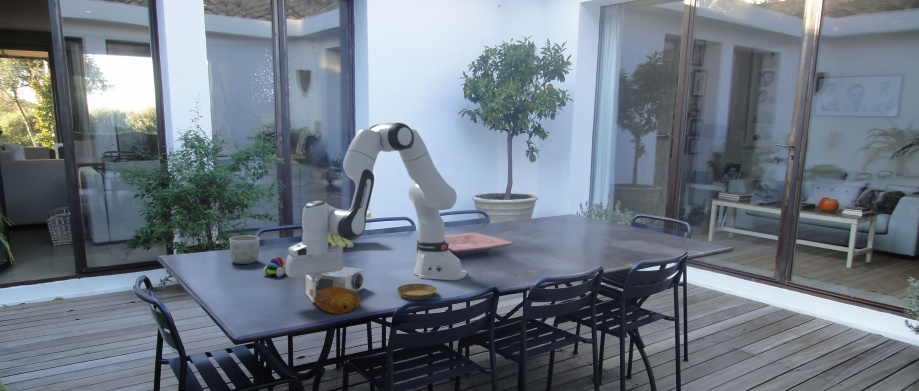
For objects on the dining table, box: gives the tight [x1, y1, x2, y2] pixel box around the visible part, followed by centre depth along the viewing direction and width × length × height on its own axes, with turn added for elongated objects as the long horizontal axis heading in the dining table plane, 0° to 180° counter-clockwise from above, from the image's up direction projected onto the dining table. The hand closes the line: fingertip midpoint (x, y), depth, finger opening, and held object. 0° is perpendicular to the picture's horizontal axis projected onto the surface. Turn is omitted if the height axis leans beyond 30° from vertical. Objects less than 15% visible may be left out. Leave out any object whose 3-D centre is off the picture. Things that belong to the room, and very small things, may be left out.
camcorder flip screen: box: [303, 275, 317, 303], centre depth 196 cm, size 13×2×7 cm, turn 28°
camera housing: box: [309, 266, 365, 295], centre depth 206 cm, size 17×14×8 cm
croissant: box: [314, 286, 362, 314], centre depth 188 cm, size 14×16×8 cm
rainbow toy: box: [262, 256, 287, 278], centre depth 226 cm, size 8×10×7 cm
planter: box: [229, 235, 260, 265], centre depth 245 cm, size 12×12×11 cm
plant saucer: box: [396, 283, 438, 301], centre depth 204 cm, size 15×15×3 cm
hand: (315, 285), depth 195 cm, fingers closed, pressing on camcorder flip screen
